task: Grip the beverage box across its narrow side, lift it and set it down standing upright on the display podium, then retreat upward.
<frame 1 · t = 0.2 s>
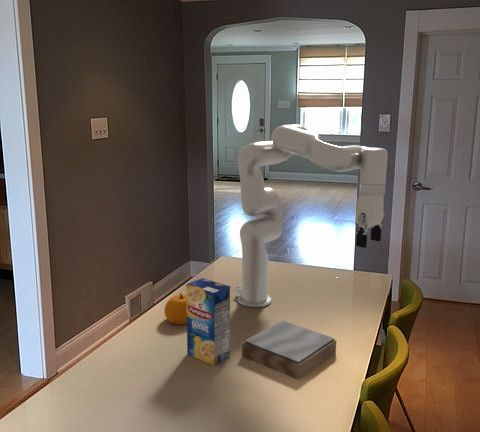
hand: (368, 243, 159), 31 cm above the table, fingers open, 9 cm apart
fruit: (181, 321, 177), on the table
beverage box: (208, 355, 153), on the table
podium: (289, 354, 153), on the table
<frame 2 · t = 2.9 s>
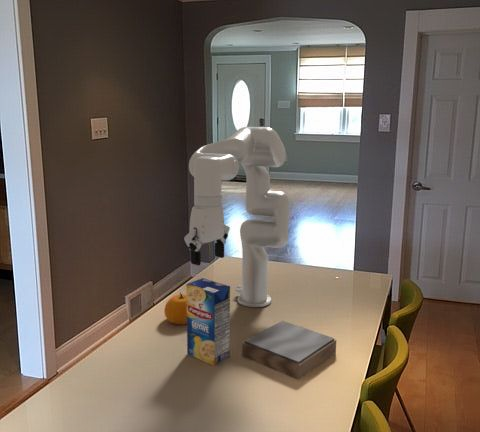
hand: (207, 260, 146), 29 cm above the table, fingers open, 9 cm apart
nothing on the table moved.
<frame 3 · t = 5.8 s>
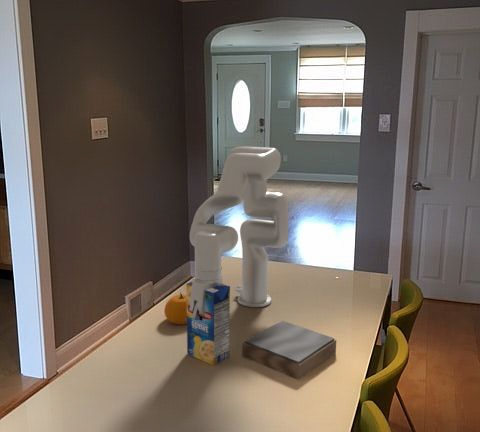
hand: (208, 332, 151), 7 cm above the table, fingers closed on beverage box
beverage box: (208, 355, 153), on the table, touching gripper
everything else where it was.
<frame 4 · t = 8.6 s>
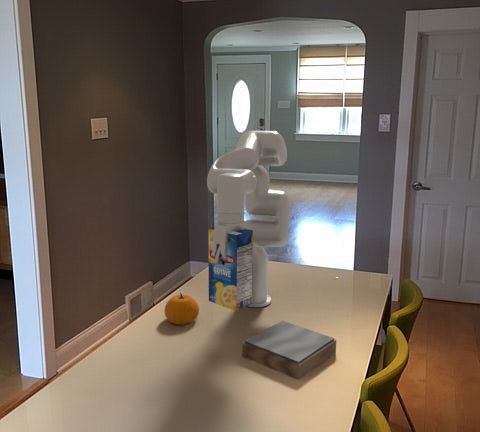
hand: (230, 279, 148), 24 cm above the table, fingers closed on beverage box
beverage box: (230, 303, 150), point 16 cm above the table, touching gripper
everything else where it was.
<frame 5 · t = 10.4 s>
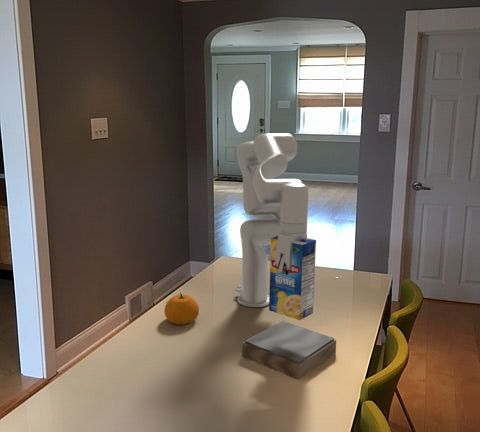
hand: (291, 288, 149), 21 cm above the table, fingers closed on beverage box
beverage box: (290, 312, 150), point 14 cm above the table, touching gripper
everything else where it was.
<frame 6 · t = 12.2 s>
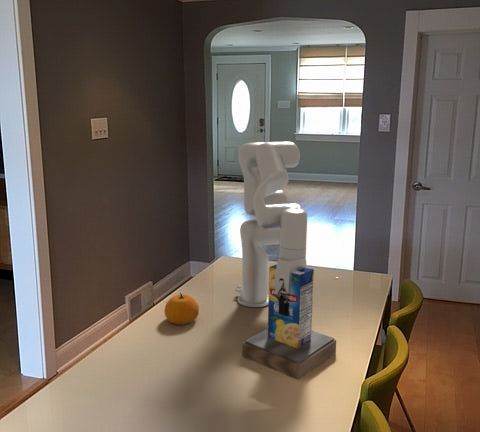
hand: (290, 310, 150), 14 cm above the table, fingers open, 6 cm apart
beverage box: (289, 339, 153), point 5 cm above the table, touching podium
everything else where it was.
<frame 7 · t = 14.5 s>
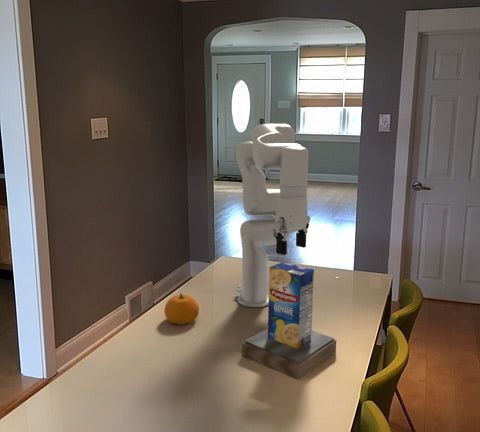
hand: (291, 250, 147), 32 cm above the table, fingers open, 9 cm apart
nothing on the table moved.
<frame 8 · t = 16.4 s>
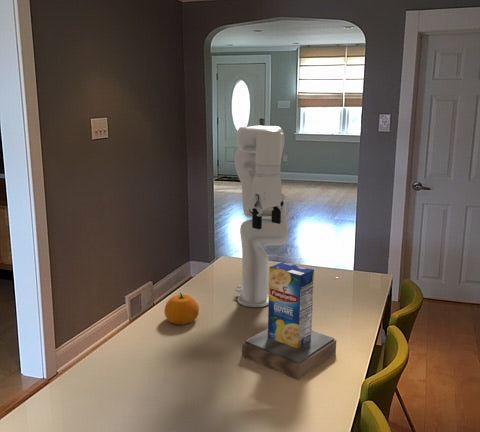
hand: (266, 225, 159), 36 cm above the table, fingers open, 9 cm apart
nothing on the table moved.
at the end: beverage box 0.3 cm from the podium (horizontally); beverage box touching podium; beverage box tilted 0° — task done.
